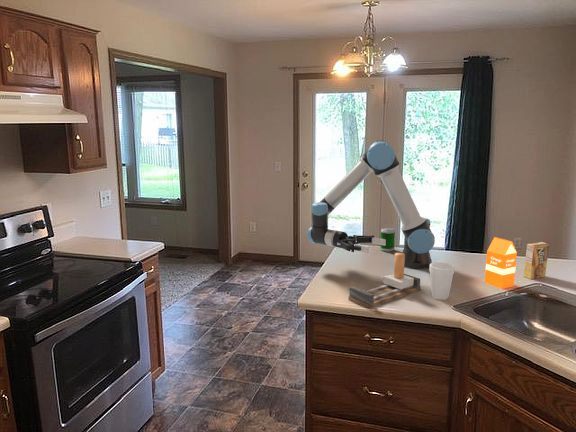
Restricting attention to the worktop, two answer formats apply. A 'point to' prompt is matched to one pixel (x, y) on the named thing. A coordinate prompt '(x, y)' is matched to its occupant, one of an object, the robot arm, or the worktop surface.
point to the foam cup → (441, 279)
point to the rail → (381, 294)
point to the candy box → (536, 260)
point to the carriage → (399, 274)
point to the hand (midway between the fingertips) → (377, 246)
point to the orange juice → (500, 263)
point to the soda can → (388, 239)
